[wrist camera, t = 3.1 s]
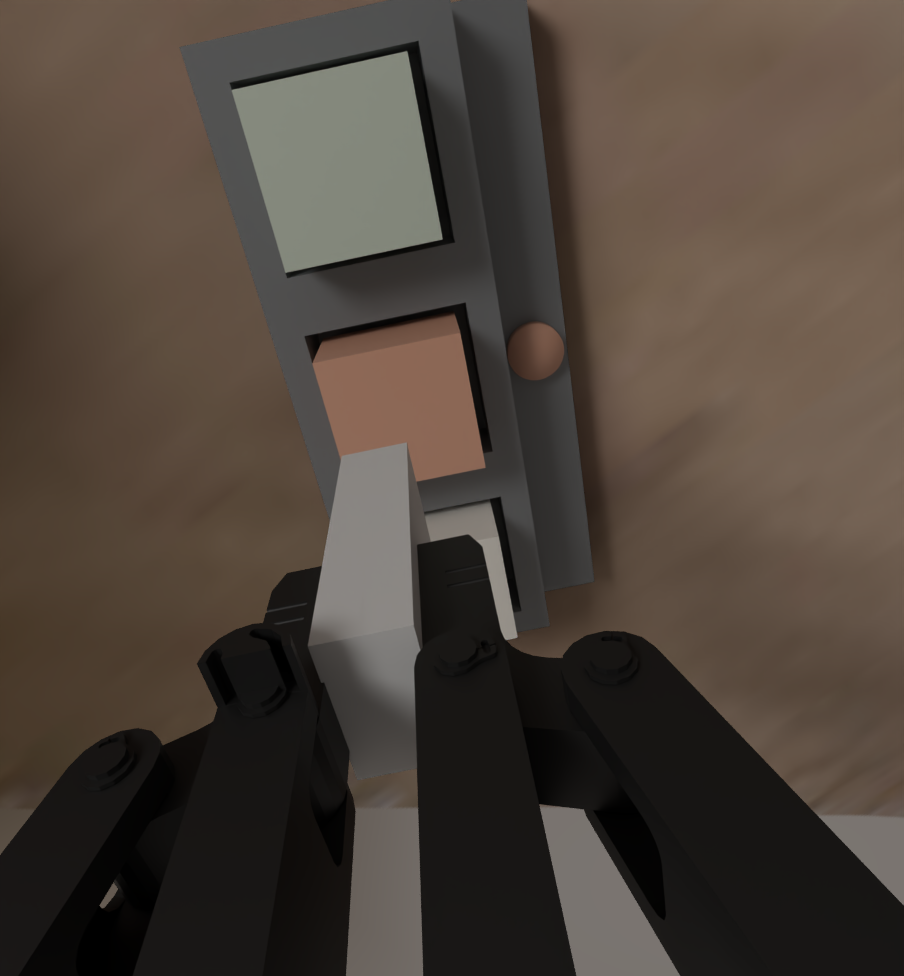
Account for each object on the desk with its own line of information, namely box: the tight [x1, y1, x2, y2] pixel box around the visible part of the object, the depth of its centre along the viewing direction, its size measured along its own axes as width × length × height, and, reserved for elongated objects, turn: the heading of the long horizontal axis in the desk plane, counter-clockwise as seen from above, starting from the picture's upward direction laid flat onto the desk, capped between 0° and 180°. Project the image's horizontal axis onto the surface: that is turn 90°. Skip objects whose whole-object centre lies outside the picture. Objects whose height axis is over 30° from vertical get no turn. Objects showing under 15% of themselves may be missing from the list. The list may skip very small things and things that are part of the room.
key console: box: [180, 0, 594, 632], centre depth 24 cm, size 10×21×4 cm, turn 11°
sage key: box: [232, 51, 443, 273], centre depth 19 cm, size 4×4×3 cm
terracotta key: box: [312, 311, 486, 482], centre depth 22 cm, size 4×4×3 cm
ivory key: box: [424, 499, 518, 640], centre depth 25 cm, size 4×4×3 cm
